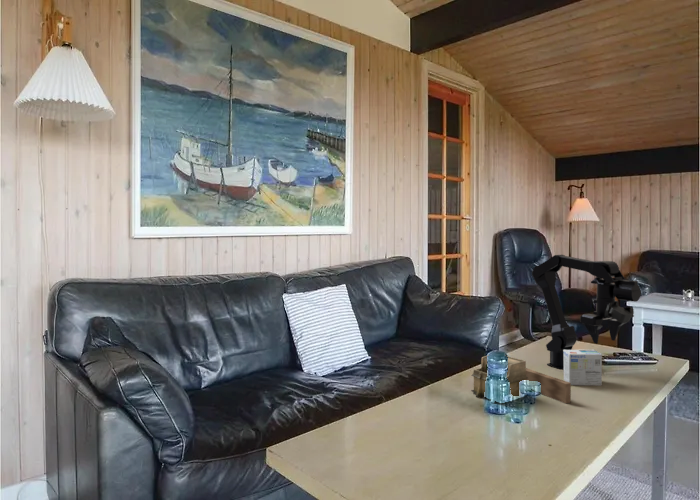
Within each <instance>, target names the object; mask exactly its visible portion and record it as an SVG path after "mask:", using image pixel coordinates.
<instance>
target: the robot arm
mask: <svg viewBox="0 0 700 500" xmlns="http://www.w3.org/2000/svg"><path fill="white" fill-rule="evenodd" d="M562 267H563V268H569V269H572V270H573V269H574V270H579V271H582V272H586V273H588V274H590V275H591V276H594V279H592V280H590V283H591V284H593V285H595V284H596V299H593V303H594V304H596V309H595V311H593V313H584V314H583V313H582V315H579V322H580V323H582V325H583V326H585V328H586V330H587V331H588V333H589V336H590V337H591V339H592V342H593V343H594V344H596V345H597V344H598V343H599V338H600V337H599V335H600V330H601V328H603V326H604V325H603V322H604V321H607V325H608V331H609V337H610V339H611V341H616V338H617V337H618V334H619V332H620V329H621V328H622V326H623V325H625V324H627V323H629V322H630V321H631V318H634V317H635V315H634V314H635V311H634V307H632V306H626V307H624V306H623V307H622V306H620V304H619V300H620V301H626V302H636V303H637V302H638V301H639V299H640V298H641V295H642V290H641V287H640V286H639V284H638V283H639V282H638V281H637V280H627V279H626V278H625V276H624V275H623V274H622V272H621V270H620V267H619V265H618V264H617V262H616V261H612V260H589V259H583V258H579V257H573V256H567V255H564V254H555V255H553V256H551V257H550V258H549V259H547V260H546V261H544V262H541V263H539V265H535V266H534V267H533V268H532V270H531V275H532V279H534V282H535V283H536V285H537V286H538V287H539V288H540V289H541V291H542V295H543V298H544V301H545V304H546V307H547V312H548V314H549V317H550V321H551V325H552V327H551V328H552V329H551V332H550V335H551V340H550V341H549V342H547V343H546V345H545V348H546V350H547V351H548V352H549V363H546V365H547V366H549V367H552V368H555V369H556V368H557V369H559V370H560V369H561V370H564V354H563V350H573V346H574V345H575V344H576V343H577V337H578V335H577V334H576V331H575V326H574V325H569V324H568V323H567V321H566V318H565V314H564V311H563V309H562V304H561V301H560V297H559V295H558V292H557V289H556V281H557V275H556V273H558V272H559V271H560V270H561V269H562ZM616 299H617V300H616Z"/></svg>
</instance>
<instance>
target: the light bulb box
mask: <svg viewBox="0 0 700 500" xmlns="http://www.w3.org/2000/svg"><path fill="white" fill-rule="evenodd" d="M563 354H564V369H563V381H566V382H569V383H571V386H602V385H603V379H602V376H603V374H602V373H603V372H602V371H603V368H602V366H603V364H602V363H603V361H602V358H603V357H602V353H600V352H598V350H596V349H571V350H563Z"/></svg>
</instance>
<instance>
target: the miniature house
mask: <svg viewBox="0 0 700 500" xmlns="http://www.w3.org/2000/svg"><path fill="white" fill-rule="evenodd" d="M487 356H488V355H484V356H482V357H481V362H480V367H478V368H476V369H473V373H472V374H471V376H472V377H473V389H471V390H470V392H472V393H473V395H475V398H477V399H479V397H480V398H483V397H484V392H485V381H486V377H487ZM506 356H507V355H506ZM507 357H508V372H507V378H508V380H509V382H510V388H511V389H510V390H511V394H512V395H513V396H519V382H520V381H522V380H526V379H527V378H528V377H527V376H526V368H527V367H526V365H527V363H526V362H527V361H526V360H525V359H519V358H516V357H512V356H507Z"/></svg>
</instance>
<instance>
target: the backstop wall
mask: <svg viewBox="0 0 700 500" xmlns="http://www.w3.org/2000/svg"><path fill="white" fill-rule="evenodd" d="M526 376H527V377H528V378H527V379H526V380H529V381H538V382H540V383H541V393H542V394H541V395H542V396H545V397H547V398H549V399H550V398H551V399H553V400H556V401H559V402H561V403H563V404H570V403H571V401H572V400H571V397H572V396H571V395H572V390H571V387H572V385H571V383H569V382H566V381H565V380H564V379H561V378H557V377H555V376H551V375H548V374H545V373H542V372H538V371H536V370H532V369H530V368H527V367H526Z"/></svg>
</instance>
